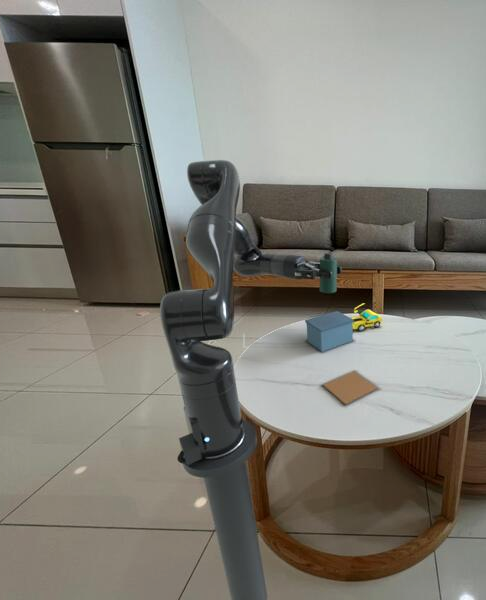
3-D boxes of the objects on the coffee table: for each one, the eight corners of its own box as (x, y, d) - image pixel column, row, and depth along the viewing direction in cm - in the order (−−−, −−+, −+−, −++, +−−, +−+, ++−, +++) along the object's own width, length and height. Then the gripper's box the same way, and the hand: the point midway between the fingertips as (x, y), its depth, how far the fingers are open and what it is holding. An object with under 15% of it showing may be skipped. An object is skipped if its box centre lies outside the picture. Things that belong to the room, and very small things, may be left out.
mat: (345, 405, 77) (345, 403, 77) (323, 385, 84) (323, 384, 84) (377, 389, 83) (377, 387, 83) (354, 372, 90) (354, 371, 90)
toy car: (373, 319, 125) (373, 299, 122) (383, 327, 119) (384, 306, 116) (344, 325, 119) (344, 304, 116) (353, 333, 113) (353, 312, 110)
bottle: (329, 294, 96) (330, 255, 92) (316, 291, 98) (315, 253, 95) (339, 290, 100) (340, 253, 97) (326, 287, 103) (326, 251, 99)
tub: (321, 352, 100) (320, 330, 97) (306, 341, 107) (304, 319, 104) (354, 340, 108) (353, 319, 105) (337, 331, 115) (337, 310, 112)
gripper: (273, 259, 94) (323, 265, 89) (301, 250, 107) (347, 255, 102) (275, 283, 97) (324, 291, 92) (302, 272, 110) (347, 278, 104)
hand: (336, 272), depth 97 cm, fingers closed on bottle, 5 cm apart
